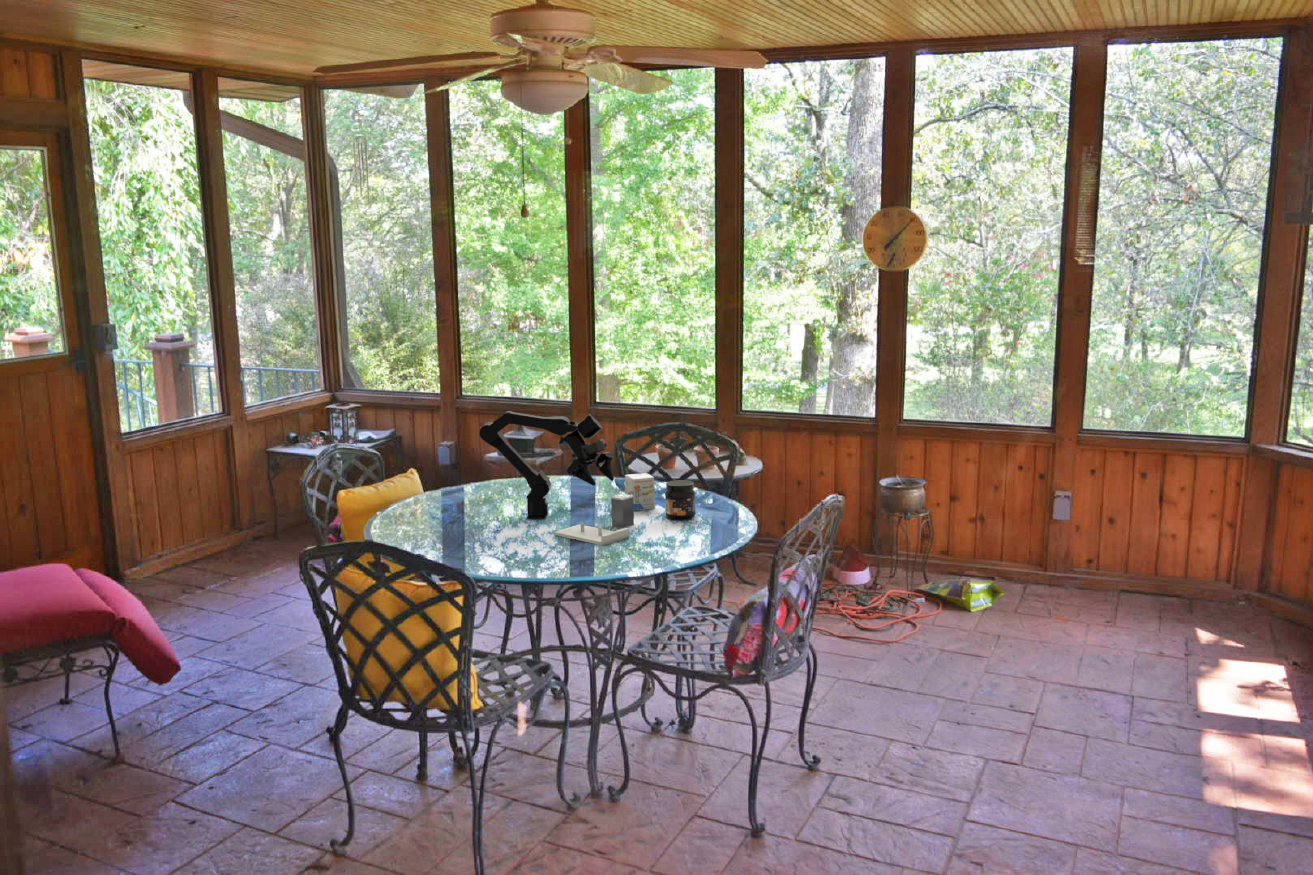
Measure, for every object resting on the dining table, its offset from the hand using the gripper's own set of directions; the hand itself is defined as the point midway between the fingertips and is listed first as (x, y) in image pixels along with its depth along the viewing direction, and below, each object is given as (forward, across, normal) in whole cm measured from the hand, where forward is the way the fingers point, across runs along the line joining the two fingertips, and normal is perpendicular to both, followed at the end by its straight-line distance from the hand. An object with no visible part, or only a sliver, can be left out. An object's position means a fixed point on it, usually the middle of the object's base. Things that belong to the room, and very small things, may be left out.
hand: (603, 482), depth 362 cm
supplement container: (+22, +20, -2) cm, 30 cm away
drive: (+15, 0, +4) cm, 16 cm away
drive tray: (+16, -17, +3) cm, 23 cm away
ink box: (+7, +23, +12) cm, 27 cm away
